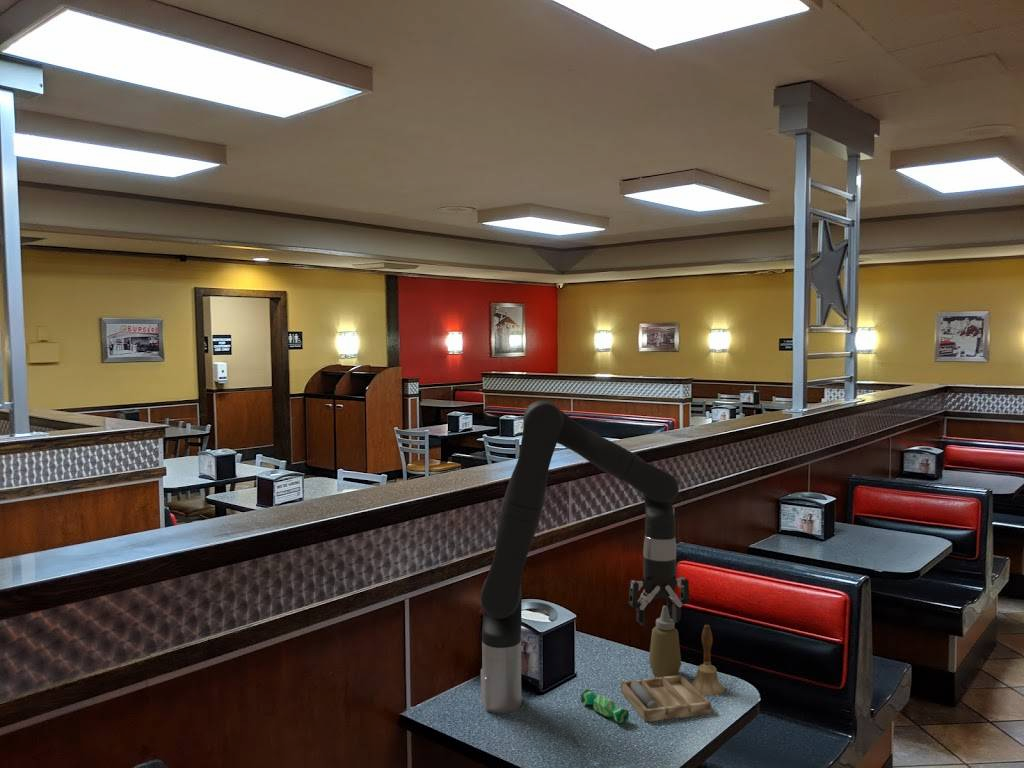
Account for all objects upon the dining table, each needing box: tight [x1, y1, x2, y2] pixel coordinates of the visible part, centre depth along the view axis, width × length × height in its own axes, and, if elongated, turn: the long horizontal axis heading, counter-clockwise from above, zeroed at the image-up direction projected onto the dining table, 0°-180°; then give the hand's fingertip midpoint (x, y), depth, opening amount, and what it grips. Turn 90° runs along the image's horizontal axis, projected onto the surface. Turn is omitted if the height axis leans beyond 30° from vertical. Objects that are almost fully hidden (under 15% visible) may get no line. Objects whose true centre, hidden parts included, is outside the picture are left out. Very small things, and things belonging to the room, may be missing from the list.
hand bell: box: [690, 624, 725, 696], centre depth 182 cm, size 8×8×16 cm
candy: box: [580, 688, 630, 725], centre depth 170 cm, size 12×3×4 cm, turn 37°
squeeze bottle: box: [648, 605, 682, 678], centre depth 189 cm, size 8×8×18 cm
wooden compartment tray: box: [620, 674, 712, 723], centre depth 175 cm, size 16×15×2 cm
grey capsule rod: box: [631, 681, 658, 709], centre depth 174 cm, size 2×12×2 cm, turn 13°
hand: (658, 622), depth 175 cm, fingers open, 8 cm apart
